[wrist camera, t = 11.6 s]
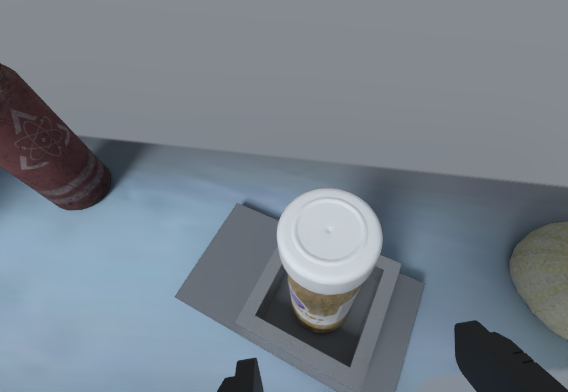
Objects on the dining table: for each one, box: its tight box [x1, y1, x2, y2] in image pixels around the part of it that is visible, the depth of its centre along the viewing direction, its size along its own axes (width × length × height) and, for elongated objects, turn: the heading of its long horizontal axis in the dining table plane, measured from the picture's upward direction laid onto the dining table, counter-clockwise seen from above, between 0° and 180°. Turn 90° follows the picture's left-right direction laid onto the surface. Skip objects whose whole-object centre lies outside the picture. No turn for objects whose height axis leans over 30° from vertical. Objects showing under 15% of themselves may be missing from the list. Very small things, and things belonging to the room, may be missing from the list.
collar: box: [236, 245, 401, 392], centre depth 23 cm, size 9×9×3 cm
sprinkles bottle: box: [277, 188, 383, 333], centre depth 18 cm, size 5×5×14 cm
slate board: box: [175, 203, 425, 392], centre depth 25 cm, size 10×18×1 cm, turn 63°
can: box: [0, 63, 111, 210], centre depth 27 cm, size 6×6×14 cm
